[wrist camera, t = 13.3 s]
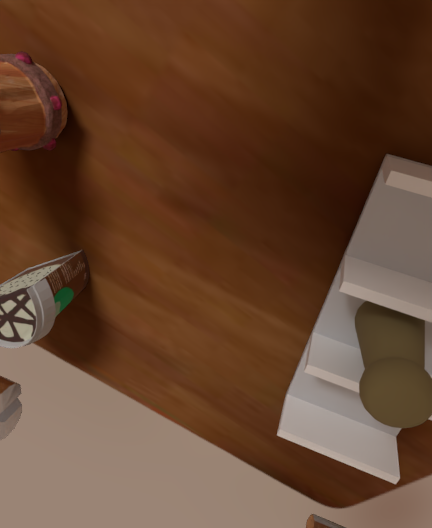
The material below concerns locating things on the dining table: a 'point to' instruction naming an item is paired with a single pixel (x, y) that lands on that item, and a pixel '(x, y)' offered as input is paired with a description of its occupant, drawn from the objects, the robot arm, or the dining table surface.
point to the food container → (39, 298)
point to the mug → (29, 105)
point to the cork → (393, 366)
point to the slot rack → (343, 322)
